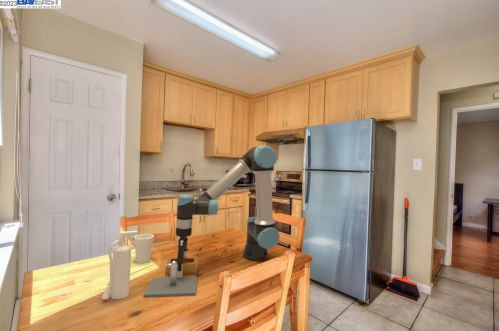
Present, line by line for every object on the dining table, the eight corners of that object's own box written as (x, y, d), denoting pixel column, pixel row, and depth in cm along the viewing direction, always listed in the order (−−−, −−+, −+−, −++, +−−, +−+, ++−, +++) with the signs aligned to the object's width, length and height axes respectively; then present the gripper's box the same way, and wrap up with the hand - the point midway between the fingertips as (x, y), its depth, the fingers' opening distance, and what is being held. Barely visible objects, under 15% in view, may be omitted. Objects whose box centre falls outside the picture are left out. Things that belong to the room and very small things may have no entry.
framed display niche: (197, 268, 119) (197, 257, 119) (195, 276, 111) (196, 263, 111) (168, 269, 117) (168, 257, 117) (165, 277, 109) (165, 264, 109)
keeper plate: (197, 278, 109) (197, 276, 109) (195, 295, 95) (195, 292, 95) (152, 279, 106) (152, 277, 106) (143, 297, 92) (143, 294, 92)
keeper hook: (176, 283, 102) (177, 259, 102) (175, 286, 100) (176, 262, 99) (164, 283, 101) (165, 259, 101) (163, 286, 99) (164, 262, 99)
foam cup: (145, 265, 120) (146, 240, 120) (129, 263, 121) (130, 238, 121) (156, 258, 129) (157, 234, 129) (141, 256, 131) (142, 233, 131)
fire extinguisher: (96, 298, 89) (102, 233, 90) (128, 287, 99) (133, 228, 99) (103, 305, 85) (110, 237, 86) (136, 293, 95) (142, 231, 95)
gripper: (179, 220, 125) (177, 259, 125) (171, 234, 101) (168, 283, 101) (193, 220, 127) (191, 259, 127) (189, 234, 102) (186, 283, 102)
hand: (181, 270), depth 114 cm, fingers open, 13 cm apart
